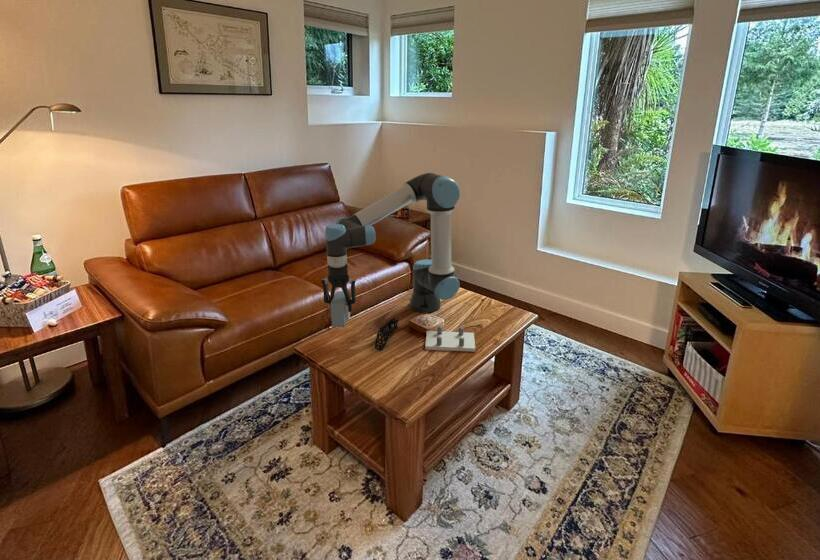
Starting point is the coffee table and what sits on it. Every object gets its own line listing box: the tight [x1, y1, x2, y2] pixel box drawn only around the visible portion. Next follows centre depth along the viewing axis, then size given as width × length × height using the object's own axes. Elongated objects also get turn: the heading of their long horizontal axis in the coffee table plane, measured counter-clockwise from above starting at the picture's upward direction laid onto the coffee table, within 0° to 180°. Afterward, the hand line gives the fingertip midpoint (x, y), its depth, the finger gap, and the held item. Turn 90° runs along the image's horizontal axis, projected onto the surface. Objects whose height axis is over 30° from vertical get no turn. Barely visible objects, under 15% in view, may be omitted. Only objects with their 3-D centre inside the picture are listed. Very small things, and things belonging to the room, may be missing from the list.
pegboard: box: [424, 325, 476, 353], centre depth 192 cm, size 20×13×4 cm, turn 86°
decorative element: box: [374, 317, 400, 351], centre depth 196 cm, size 22×5×6 cm, turn 165°
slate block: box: [329, 290, 352, 328], centre depth 187 cm, size 12×5×10 cm, turn 176°
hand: (341, 318), depth 188 cm, fingers closed on slate block, 5 cm apart
